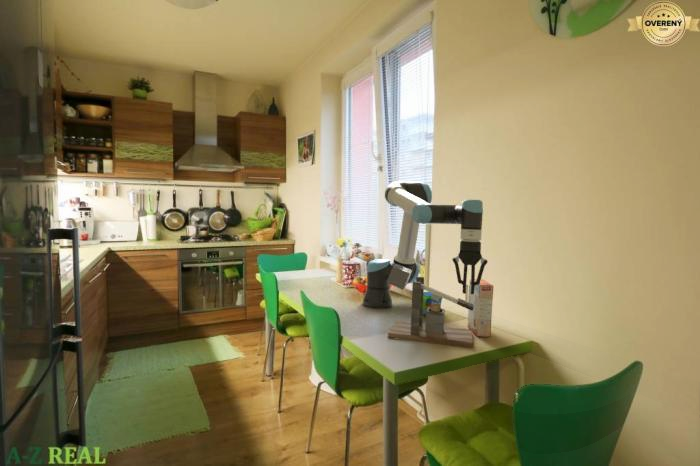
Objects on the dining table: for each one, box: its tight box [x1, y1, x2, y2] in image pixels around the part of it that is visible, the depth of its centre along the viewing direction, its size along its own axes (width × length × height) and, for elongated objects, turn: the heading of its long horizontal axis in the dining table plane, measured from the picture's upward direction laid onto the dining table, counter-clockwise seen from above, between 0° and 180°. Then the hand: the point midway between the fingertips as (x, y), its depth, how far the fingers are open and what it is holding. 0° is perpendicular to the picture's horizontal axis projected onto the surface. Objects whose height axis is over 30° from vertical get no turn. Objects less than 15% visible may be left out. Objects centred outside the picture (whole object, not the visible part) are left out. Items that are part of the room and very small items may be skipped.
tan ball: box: [430, 303, 442, 312], centre depth 152 cm, size 4×4×4 cm
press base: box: [387, 276, 473, 349], centre depth 152 cm, size 16×31×22 cm, turn 74°
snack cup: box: [423, 291, 443, 316], centre depth 184 cm, size 16×10×10 cm
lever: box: [387, 264, 474, 311], centre depth 152 cm, size 9×34×7 cm, turn 74°
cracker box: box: [467, 278, 494, 338], centre depth 159 cm, size 14×6×21 cm, turn 177°
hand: (467, 302), depth 148 cm, fingers closed
